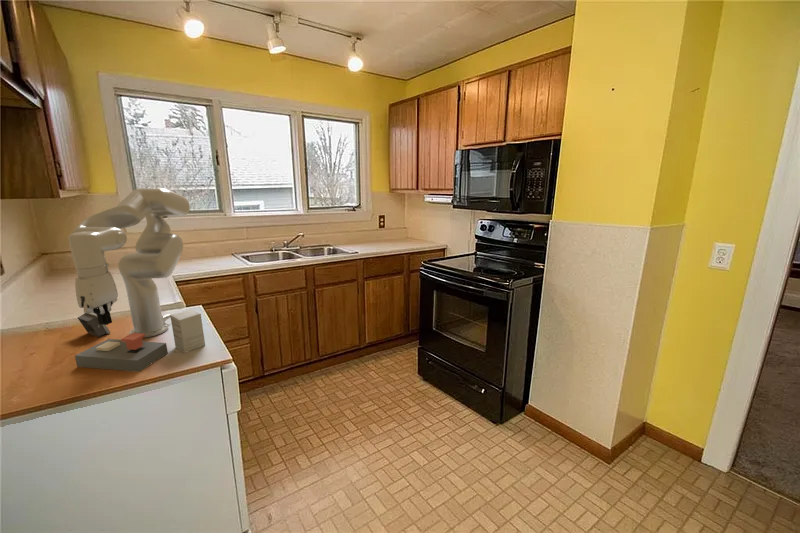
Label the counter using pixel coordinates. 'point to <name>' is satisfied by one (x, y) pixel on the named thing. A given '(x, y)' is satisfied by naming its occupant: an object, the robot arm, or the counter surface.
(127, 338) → the red plug
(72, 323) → the counter surface
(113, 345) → the ivory plug
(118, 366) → the plug panel
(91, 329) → the electrical switch
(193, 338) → the supplement box
